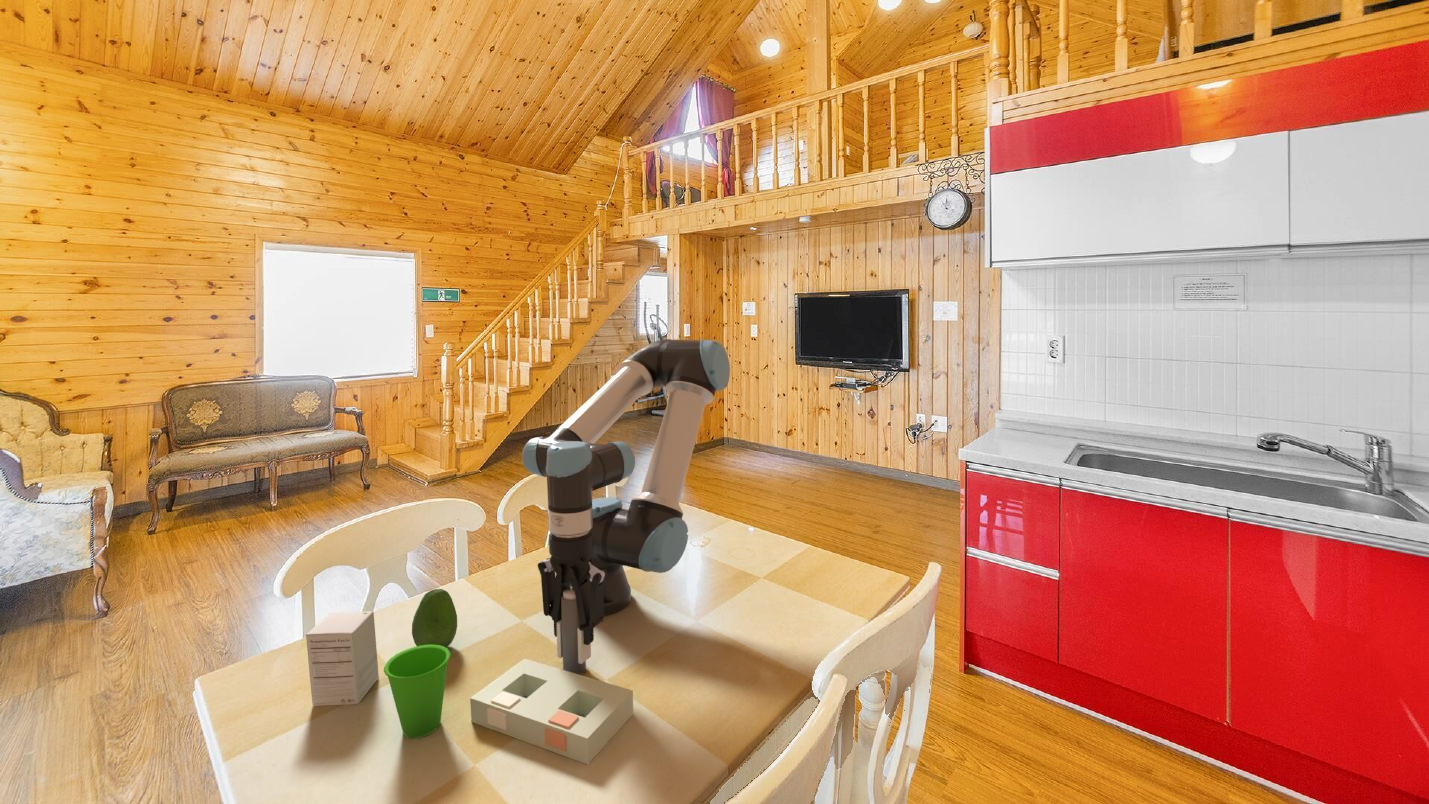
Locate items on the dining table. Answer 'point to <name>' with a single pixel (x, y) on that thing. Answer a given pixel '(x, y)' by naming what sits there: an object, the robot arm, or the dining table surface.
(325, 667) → the supplement box
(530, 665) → the socket strip
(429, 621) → the fruit
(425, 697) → the cup
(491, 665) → the dining table surface
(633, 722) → the dining table surface
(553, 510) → the robot arm
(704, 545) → the dining table surface
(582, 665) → the plug
